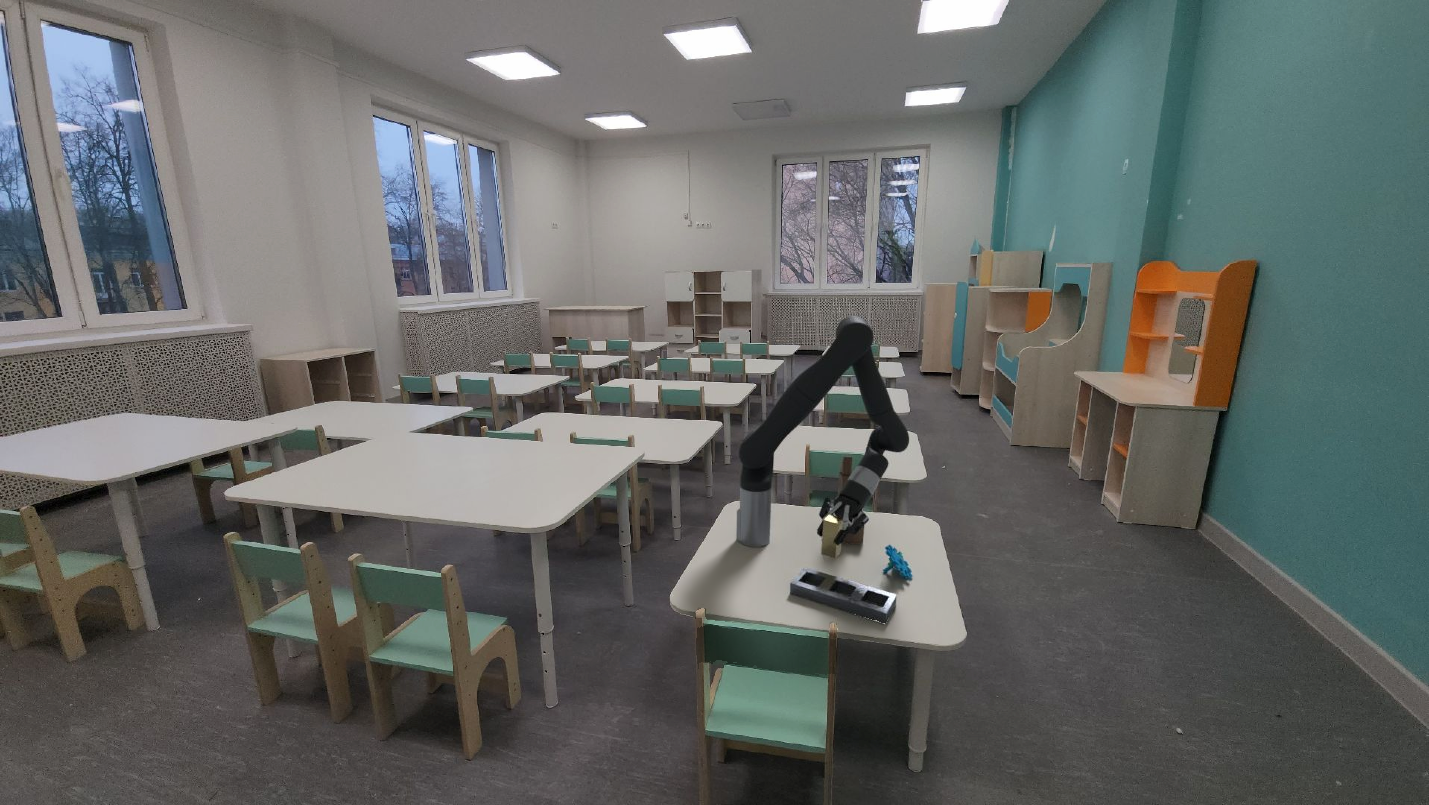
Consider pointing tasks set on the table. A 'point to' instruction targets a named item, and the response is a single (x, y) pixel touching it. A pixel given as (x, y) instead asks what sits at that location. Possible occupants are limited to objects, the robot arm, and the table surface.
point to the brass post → (831, 536)
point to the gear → (897, 562)
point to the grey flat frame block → (848, 604)
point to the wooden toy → (843, 477)
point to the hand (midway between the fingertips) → (827, 539)
